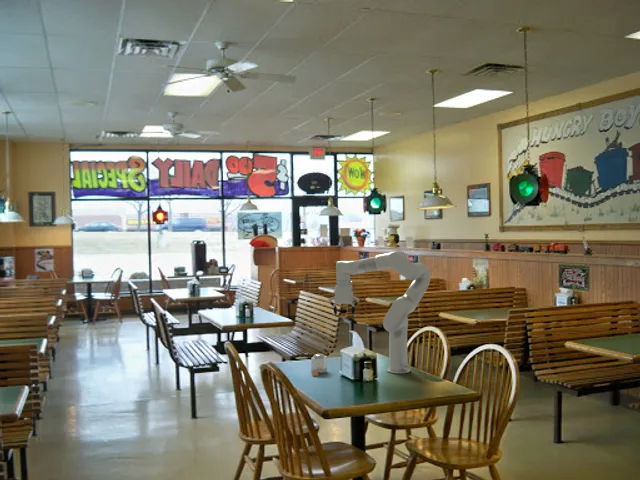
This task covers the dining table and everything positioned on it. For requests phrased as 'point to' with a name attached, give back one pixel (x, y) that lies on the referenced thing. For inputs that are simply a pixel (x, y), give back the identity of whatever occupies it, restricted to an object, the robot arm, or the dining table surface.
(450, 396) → the dining table surface
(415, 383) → the dining table surface
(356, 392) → the dining table surface
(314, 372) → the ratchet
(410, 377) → the dining table surface
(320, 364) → the socket
